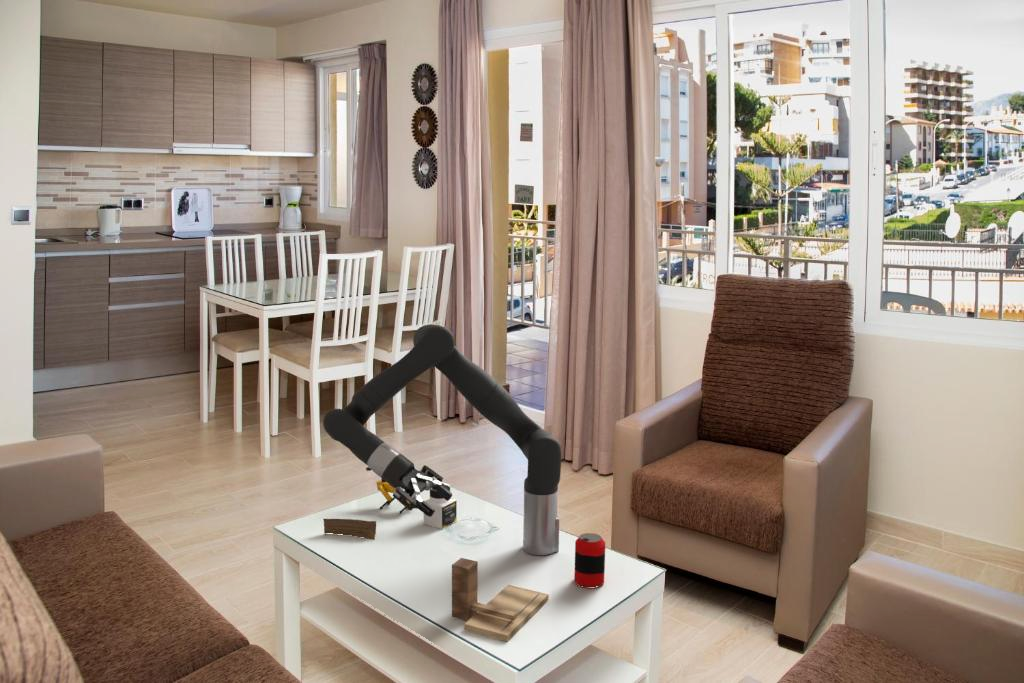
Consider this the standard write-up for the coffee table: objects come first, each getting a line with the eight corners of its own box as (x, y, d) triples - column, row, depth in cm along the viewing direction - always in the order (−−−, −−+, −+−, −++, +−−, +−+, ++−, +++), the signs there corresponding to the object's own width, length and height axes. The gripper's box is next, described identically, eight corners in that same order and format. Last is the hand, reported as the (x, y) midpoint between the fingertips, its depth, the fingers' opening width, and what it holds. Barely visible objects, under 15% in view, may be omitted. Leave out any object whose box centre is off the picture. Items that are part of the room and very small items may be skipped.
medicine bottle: (442, 529, 256) (442, 490, 254) (423, 524, 260) (422, 485, 258) (457, 521, 262) (457, 483, 260) (437, 516, 266) (437, 478, 264)
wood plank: (322, 536, 251) (321, 519, 250) (325, 533, 253) (324, 517, 252) (374, 540, 248) (374, 523, 248) (376, 537, 250) (376, 520, 250)
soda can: (568, 582, 224) (569, 537, 222) (586, 572, 230) (587, 529, 227) (592, 591, 219) (593, 546, 217) (610, 581, 225) (611, 537, 222)
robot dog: (371, 500, 279) (371, 459, 276) (420, 510, 271) (420, 468, 269) (361, 506, 274) (360, 465, 271) (410, 516, 266) (410, 474, 263)
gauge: (451, 617, 206) (451, 564, 203) (461, 609, 210) (461, 557, 207) (510, 632, 199) (511, 579, 197) (519, 624, 203) (520, 571, 200)
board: (508, 590, 219) (508, 584, 219) (548, 600, 214) (548, 594, 214) (464, 630, 200) (464, 623, 200) (507, 641, 195) (507, 635, 195)
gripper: (380, 466, 208) (433, 508, 205) (411, 442, 220) (462, 482, 217) (368, 488, 211) (421, 530, 208) (400, 463, 224) (450, 503, 220)
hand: (442, 505), depth 213 cm, fingers open, 8 cm apart
